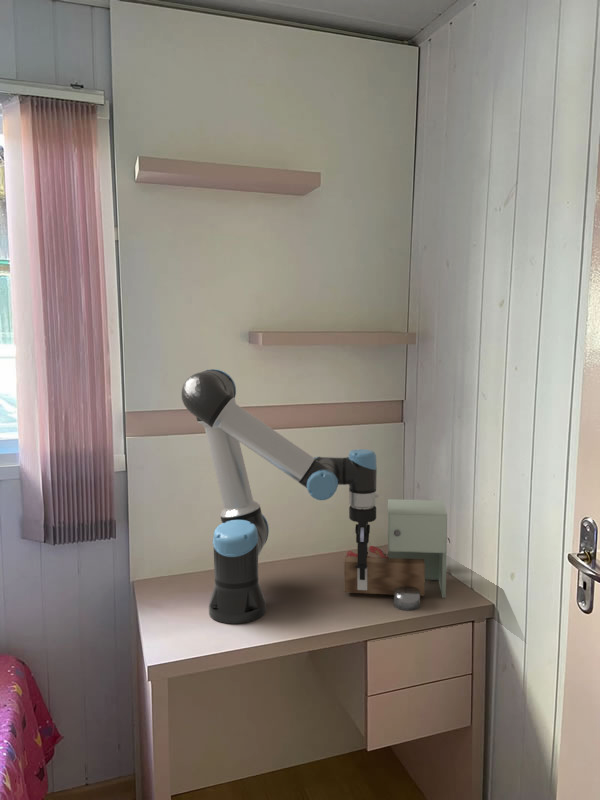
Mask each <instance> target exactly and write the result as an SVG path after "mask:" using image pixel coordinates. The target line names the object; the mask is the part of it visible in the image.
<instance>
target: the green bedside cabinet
mask: <svg viewBox="0 0 600 800" xmlns="http://www.w3.org/2000/svg"><path fill="white" fill-rule="evenodd" d="M447 538H448V513H447V510H446V507H445V503H444V500H439V499H438V500H434V499H433V500H431V499H429V500H428V499H394V498H392V499H387V556H388V558H405V559H424V563H425V580H429V581H430V580H432V581H433V580H434V581H438V585H439V588H440V593H441V598H445V599H446V598H447V593H446V592H447V547H448V544H447V543H448V539H447Z"/></svg>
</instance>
